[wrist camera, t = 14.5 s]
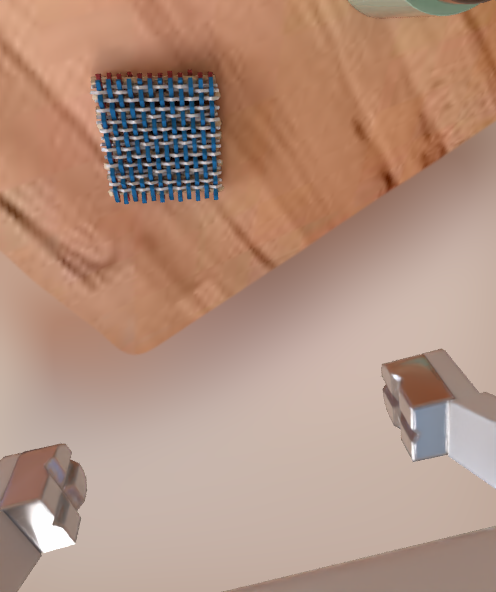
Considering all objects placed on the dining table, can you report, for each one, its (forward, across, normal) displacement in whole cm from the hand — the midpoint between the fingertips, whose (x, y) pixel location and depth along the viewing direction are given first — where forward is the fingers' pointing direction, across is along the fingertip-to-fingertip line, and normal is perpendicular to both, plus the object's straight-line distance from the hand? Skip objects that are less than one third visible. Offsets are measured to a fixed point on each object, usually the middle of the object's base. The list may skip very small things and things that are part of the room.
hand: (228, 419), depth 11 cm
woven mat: (+33, +3, -1) cm, 33 cm away
